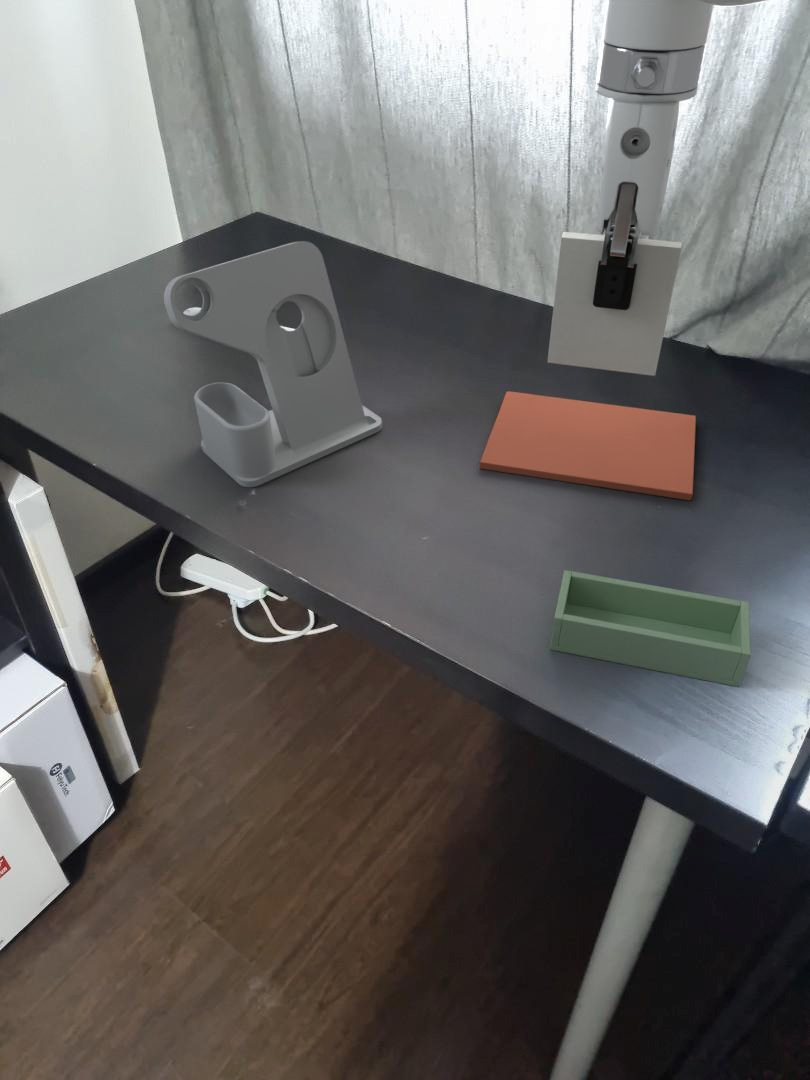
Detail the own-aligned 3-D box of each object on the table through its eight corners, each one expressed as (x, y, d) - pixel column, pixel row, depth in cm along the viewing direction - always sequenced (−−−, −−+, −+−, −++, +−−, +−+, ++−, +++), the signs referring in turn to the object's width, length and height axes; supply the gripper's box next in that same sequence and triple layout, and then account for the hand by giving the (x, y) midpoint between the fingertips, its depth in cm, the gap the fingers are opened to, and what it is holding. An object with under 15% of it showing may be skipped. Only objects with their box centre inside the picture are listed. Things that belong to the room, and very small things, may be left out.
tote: (737, 634, 64) (749, 602, 61) (738, 687, 60) (751, 654, 57) (559, 601, 67) (564, 569, 64) (549, 649, 63) (554, 617, 61)
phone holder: (243, 492, 78) (211, 315, 67) (192, 446, 85) (155, 276, 73) (387, 427, 87) (381, 259, 75) (332, 390, 93) (318, 229, 81)
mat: (694, 422, 87) (696, 415, 86) (691, 501, 76) (692, 494, 76) (506, 397, 91) (506, 390, 90) (479, 468, 81) (479, 462, 80)
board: (655, 369, 77) (682, 242, 70) (655, 376, 76) (681, 248, 69) (549, 356, 80) (563, 231, 72) (547, 362, 79) (561, 237, 71)
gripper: (698, 97, 55) (649, 347, 67) (702, 51, 67) (659, 272, 79) (586, 91, 57) (557, 336, 69) (608, 47, 68) (580, 264, 80)
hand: (612, 300), depth 74 cm, fingers closed on board, 1 cm apart
